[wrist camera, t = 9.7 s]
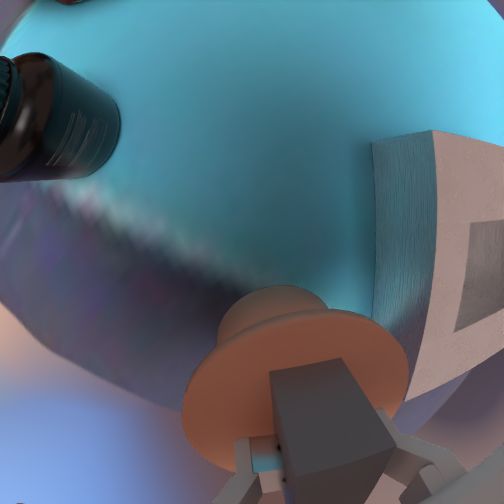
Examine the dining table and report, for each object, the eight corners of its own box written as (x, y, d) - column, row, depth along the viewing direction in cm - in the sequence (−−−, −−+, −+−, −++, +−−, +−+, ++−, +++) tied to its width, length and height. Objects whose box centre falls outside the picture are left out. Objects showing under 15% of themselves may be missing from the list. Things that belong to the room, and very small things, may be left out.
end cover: (180, 274, 13) (109, 443, 4) (354, 252, 14) (507, 347, 4) (210, 405, 16) (211, 547, 6) (346, 382, 16) (414, 499, 6)
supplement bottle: (105, 74, 14) (12, -1, 3) (136, 146, 16) (21, 106, 5) (38, 125, 15) (-72, 106, 3) (64, 197, 16) (-62, 223, 5)
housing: (371, 142, 18) (432, 130, 11) (478, 154, 19) (530, 156, 12) (367, 353, 22) (404, 401, 15) (466, 318, 23) (505, 346, 16)
